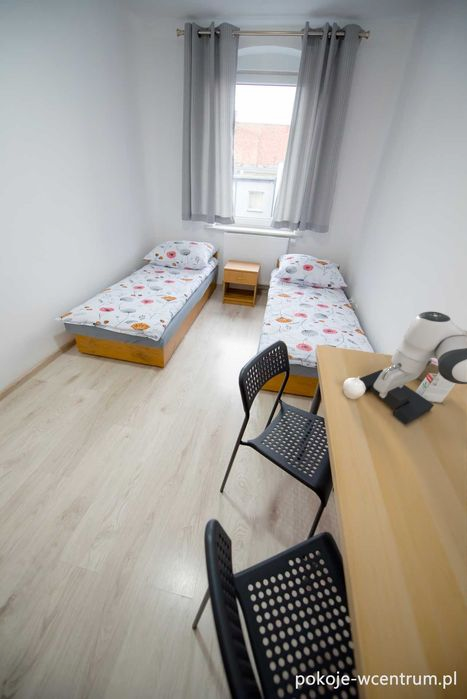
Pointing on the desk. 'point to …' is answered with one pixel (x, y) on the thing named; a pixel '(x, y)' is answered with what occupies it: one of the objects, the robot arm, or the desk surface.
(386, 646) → the desk surface
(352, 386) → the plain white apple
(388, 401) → the small pad
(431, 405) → the big pad
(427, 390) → the ink box
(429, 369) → the ink box
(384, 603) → the desk surface
